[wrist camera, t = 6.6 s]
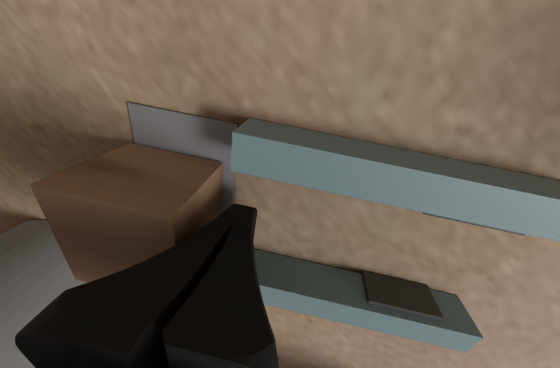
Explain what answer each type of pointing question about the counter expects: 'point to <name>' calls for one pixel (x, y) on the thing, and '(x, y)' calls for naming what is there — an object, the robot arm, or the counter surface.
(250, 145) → the clamp jaws
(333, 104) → the counter surface
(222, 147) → the felt pad
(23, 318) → the coffee mug
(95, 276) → the walnut block
